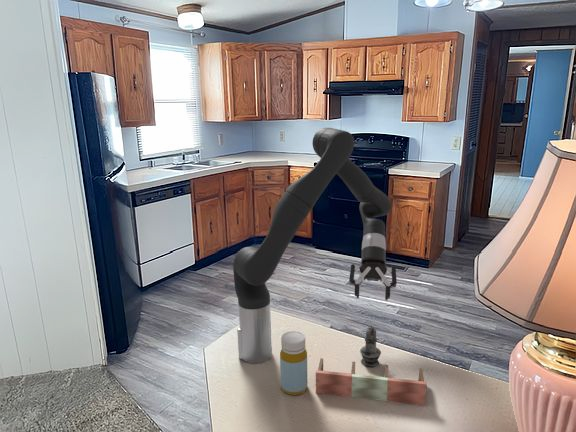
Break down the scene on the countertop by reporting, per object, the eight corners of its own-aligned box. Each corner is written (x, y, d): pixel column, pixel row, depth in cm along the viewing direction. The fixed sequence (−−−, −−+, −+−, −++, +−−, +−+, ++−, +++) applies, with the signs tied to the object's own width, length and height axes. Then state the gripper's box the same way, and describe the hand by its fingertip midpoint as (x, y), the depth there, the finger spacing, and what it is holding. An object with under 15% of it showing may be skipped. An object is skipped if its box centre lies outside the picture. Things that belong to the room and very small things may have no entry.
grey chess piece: (379, 357, 126) (380, 320, 123) (381, 369, 120) (383, 330, 117) (359, 356, 126) (360, 319, 123) (360, 368, 121) (361, 330, 118)
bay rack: (315, 392, 111) (315, 372, 109) (320, 370, 120) (320, 351, 118) (425, 405, 105) (426, 384, 104) (421, 381, 114) (422, 361, 113)
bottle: (294, 376, 118) (293, 327, 114) (312, 387, 113) (312, 336, 109) (275, 387, 113) (273, 337, 109) (294, 400, 108) (293, 347, 104)
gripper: (350, 244, 135) (347, 292, 127) (397, 246, 132) (397, 296, 124) (351, 254, 141) (348, 301, 133) (395, 256, 139) (395, 304, 131)
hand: (372, 298), depth 129 cm, fingers open, 8 cm apart
